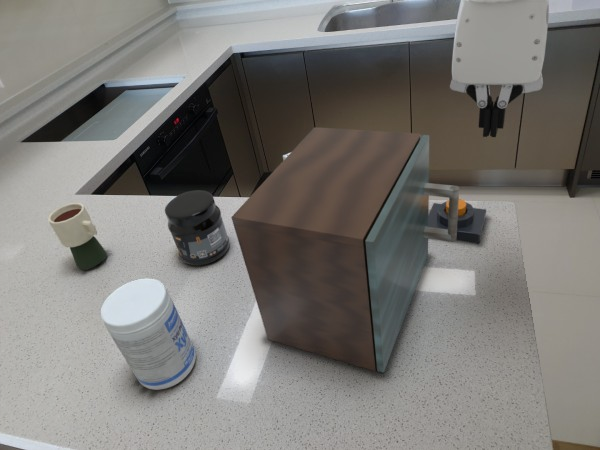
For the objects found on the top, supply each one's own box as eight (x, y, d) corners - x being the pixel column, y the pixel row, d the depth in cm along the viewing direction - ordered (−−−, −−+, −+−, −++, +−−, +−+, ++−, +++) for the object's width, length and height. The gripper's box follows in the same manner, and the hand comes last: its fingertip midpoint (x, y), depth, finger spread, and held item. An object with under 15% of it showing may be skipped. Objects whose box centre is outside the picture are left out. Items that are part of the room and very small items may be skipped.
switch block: (485, 218, 90) (487, 201, 87) (478, 243, 84) (480, 226, 82) (433, 211, 94) (433, 195, 92) (423, 235, 88) (423, 218, 86)
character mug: (123, 253, 99) (99, 204, 91) (102, 276, 94) (74, 225, 86) (85, 248, 103) (58, 200, 95) (62, 269, 98) (32, 220, 90)
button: (467, 207, 87) (467, 199, 86) (463, 218, 85) (464, 210, 84) (447, 204, 89) (448, 197, 88) (443, 215, 86) (444, 208, 85)
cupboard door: (457, 260, 81) (465, 137, 67) (420, 384, 63) (420, 250, 49) (422, 254, 84) (422, 134, 70) (377, 371, 66) (365, 240, 52)
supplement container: (187, 237, 100) (169, 191, 93) (234, 232, 99) (220, 185, 92) (175, 270, 92) (154, 222, 85) (226, 265, 90) (210, 216, 83)
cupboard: (421, 255, 84) (421, 133, 70) (375, 371, 66) (362, 239, 52) (331, 239, 92) (314, 127, 78) (267, 339, 74) (230, 217, 59)
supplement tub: (205, 371, 71) (175, 305, 62) (145, 404, 68) (105, 338, 59) (186, 332, 78) (157, 267, 69) (131, 359, 75) (94, 295, 66)
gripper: (582, -35, 50) (554, 122, 61) (441, -21, 56) (438, 118, 67) (582, -19, 45) (553, 149, 55) (427, -6, 51) (427, 142, 62)
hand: (490, 132), depth 61 cm, fingers closed
